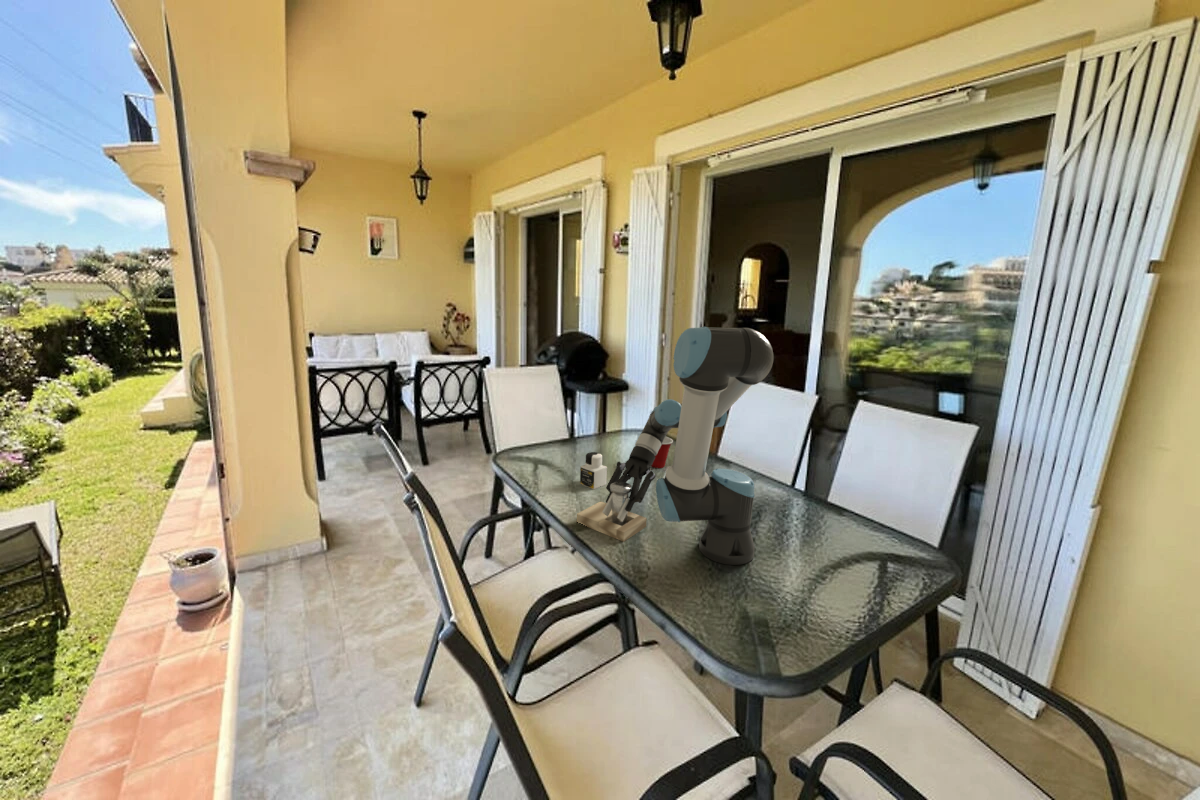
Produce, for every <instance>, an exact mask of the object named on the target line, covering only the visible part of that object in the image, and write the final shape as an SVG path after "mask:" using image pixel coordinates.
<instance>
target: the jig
mask: <svg viewBox="0 0 1200 800" xmlns="http://www.w3.org/2000/svg"><path fill="white" fill-rule="evenodd" d="M606 504H607V503H606V502H604V501H599V502H596V503H594V504H593V505H591V506H589V507H587V508H585V509H583V510H581V511H579V512H577V513H576V523H577V522H578V523H577V524H579V523H581V524H583V525H582V526H584V525H585V527H586V526H587V528H589V529H592V530H594V531H596V532H599V533H601V534H603V535H606V536H609V537H611V538H613V539H616V540H618V541H621V542H624V543H625V542H626V541H627V540H629V539H630V538H632V537H633V536H635V535H636V534H638V533H640V532H641V531H642V530H643V529H645V528H647V521H648V519H647V517H645V516H642V515H639V514H636V513H635V512H631V511H630V512H628V516H627V523H626V524H625V525H623V526H620V525H618V524H615V523H613V522H612V509H611V511H610V513H609V515H608V516H606V515H605V514H604V513H603V510H604V508H605V506H606ZM581 524H580V525H581Z"/></svg>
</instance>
